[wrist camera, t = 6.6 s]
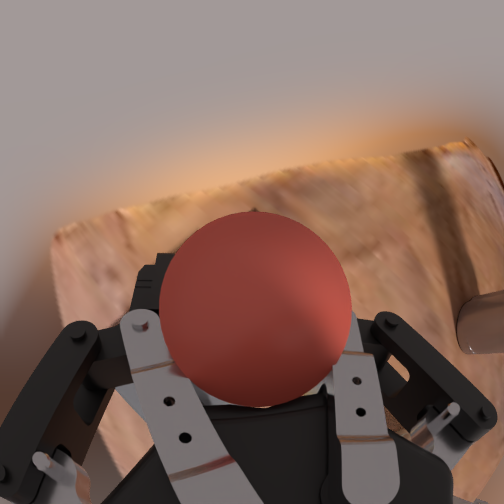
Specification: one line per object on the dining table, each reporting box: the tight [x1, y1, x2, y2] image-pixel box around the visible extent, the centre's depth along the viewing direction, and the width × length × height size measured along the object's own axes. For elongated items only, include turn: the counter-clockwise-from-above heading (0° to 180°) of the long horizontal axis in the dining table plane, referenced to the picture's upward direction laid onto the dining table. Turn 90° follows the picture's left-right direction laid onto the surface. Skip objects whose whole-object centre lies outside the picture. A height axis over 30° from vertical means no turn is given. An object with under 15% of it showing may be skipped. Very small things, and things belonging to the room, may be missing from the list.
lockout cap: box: [159, 212, 352, 407], centre depth 11 cm, size 5×5×10 cm
